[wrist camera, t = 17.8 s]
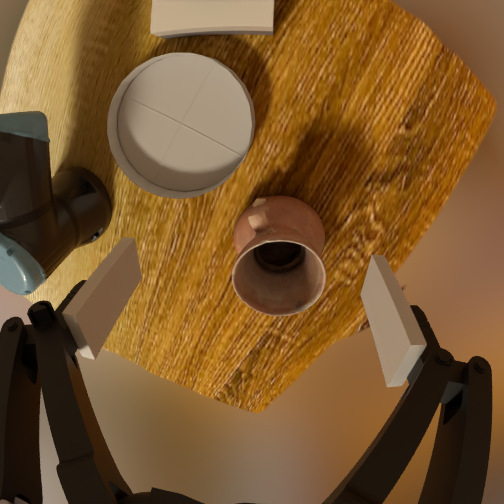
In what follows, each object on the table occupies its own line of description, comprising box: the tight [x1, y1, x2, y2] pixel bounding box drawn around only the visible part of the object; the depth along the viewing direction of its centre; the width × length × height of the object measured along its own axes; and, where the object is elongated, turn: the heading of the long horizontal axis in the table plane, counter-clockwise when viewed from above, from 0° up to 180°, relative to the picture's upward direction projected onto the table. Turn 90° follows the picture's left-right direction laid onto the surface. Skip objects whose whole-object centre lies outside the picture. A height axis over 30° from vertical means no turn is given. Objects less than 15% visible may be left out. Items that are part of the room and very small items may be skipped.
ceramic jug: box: [232, 195, 326, 316], centre depth 44 cm, size 18×14×14 cm
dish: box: [107, 53, 256, 199], centre depth 40 cm, size 22×22×5 cm
